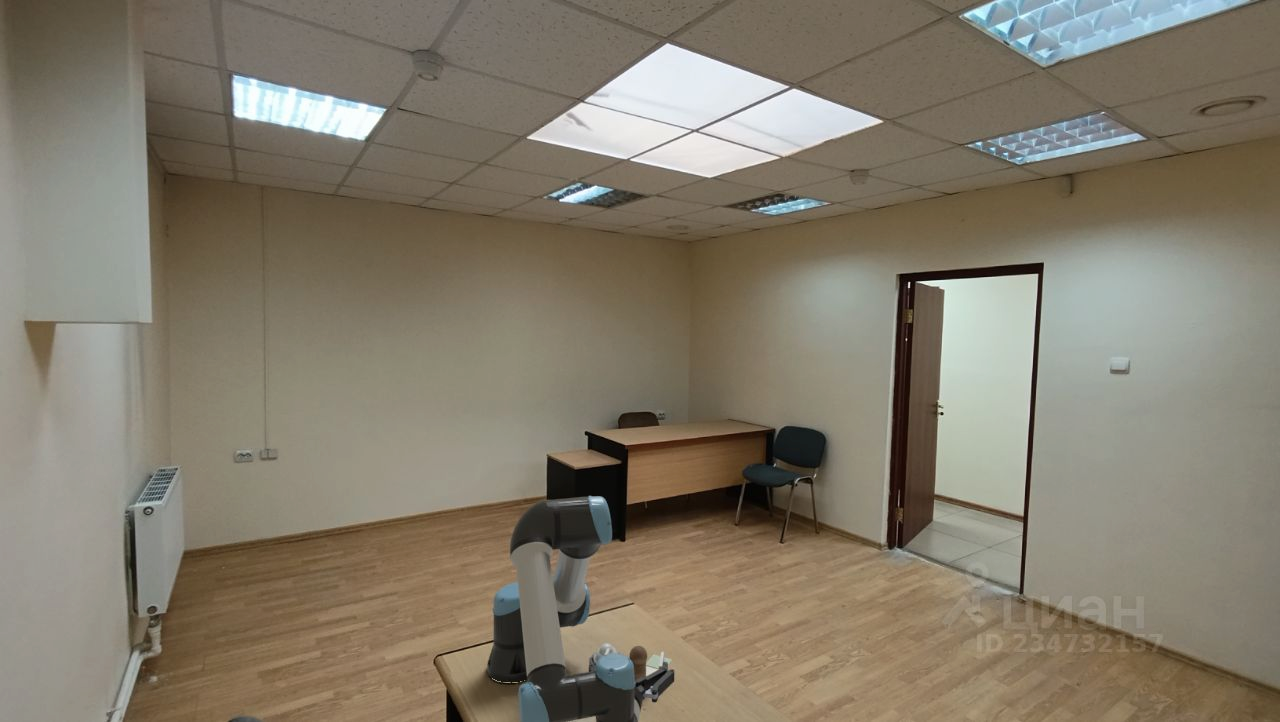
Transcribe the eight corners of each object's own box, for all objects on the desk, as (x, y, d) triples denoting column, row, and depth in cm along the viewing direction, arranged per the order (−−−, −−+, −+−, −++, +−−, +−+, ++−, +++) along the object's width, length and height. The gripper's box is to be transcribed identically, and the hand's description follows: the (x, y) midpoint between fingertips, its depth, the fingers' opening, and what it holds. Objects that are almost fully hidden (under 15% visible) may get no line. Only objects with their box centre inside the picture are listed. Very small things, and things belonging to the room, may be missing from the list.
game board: (617, 692, 152) (617, 688, 152) (649, 655, 170) (649, 652, 170) (647, 702, 148) (647, 698, 148) (677, 663, 166) (677, 660, 166)
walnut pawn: (624, 688, 152) (624, 649, 152) (633, 677, 157) (633, 639, 157) (642, 694, 150) (643, 654, 149) (652, 683, 155) (652, 644, 154)
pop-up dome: (588, 666, 159) (588, 647, 158) (601, 654, 165) (601, 635, 165) (611, 673, 155) (611, 653, 155) (623, 660, 162) (623, 641, 162)
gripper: (565, 721, 123) (586, 666, 144) (681, 730, 120) (685, 673, 141) (565, 687, 123) (586, 637, 144) (681, 695, 120) (685, 643, 141)
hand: (635, 655), depth 142 cm, fingers open, 13 cm apart
